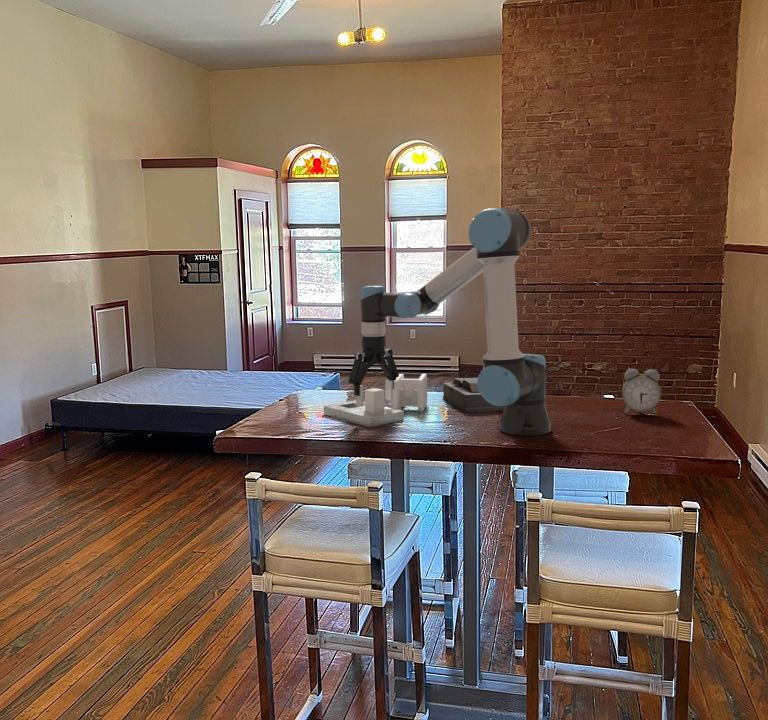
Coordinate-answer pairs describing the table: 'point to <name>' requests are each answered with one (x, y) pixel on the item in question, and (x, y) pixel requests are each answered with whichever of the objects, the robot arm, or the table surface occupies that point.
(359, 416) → the panel
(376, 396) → the plug
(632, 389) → the alarm clock
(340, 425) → the table surface
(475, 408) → the dark grey tray
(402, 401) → the cable organizer
